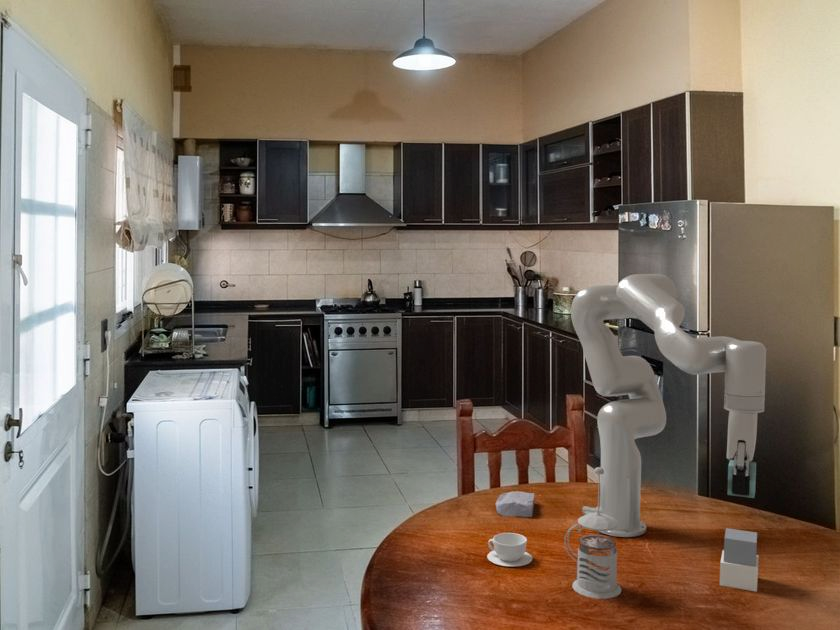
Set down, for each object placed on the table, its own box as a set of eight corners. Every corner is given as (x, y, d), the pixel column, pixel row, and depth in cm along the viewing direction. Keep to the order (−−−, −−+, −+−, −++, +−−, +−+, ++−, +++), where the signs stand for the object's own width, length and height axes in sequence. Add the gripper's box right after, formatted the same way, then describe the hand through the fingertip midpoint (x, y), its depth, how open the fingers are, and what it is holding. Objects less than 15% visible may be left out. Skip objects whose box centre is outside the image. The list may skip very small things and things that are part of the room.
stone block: (496, 523, 199) (535, 518, 197) (493, 505, 199) (531, 499, 197) (500, 509, 210) (537, 504, 209) (497, 492, 210) (533, 487, 208)
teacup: (537, 554, 175) (538, 534, 174) (525, 571, 166) (525, 550, 165) (495, 547, 179) (495, 527, 178) (480, 564, 170) (480, 543, 169)
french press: (612, 603, 151) (615, 477, 148) (556, 589, 157) (558, 468, 154) (628, 584, 159) (630, 464, 157) (573, 571, 165) (576, 456, 163)
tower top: (723, 561, 158) (724, 538, 158) (725, 551, 164) (726, 528, 163) (755, 566, 156) (756, 542, 155) (756, 555, 161) (757, 532, 161)
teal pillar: (727, 494, 157) (728, 465, 157) (729, 487, 162) (729, 459, 161) (754, 498, 155) (755, 468, 154) (755, 491, 160) (756, 462, 159)
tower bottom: (719, 586, 159) (720, 562, 158) (721, 572, 165) (722, 549, 164) (756, 592, 156) (757, 568, 155) (757, 578, 162) (758, 555, 161)
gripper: (727, 393, 166) (724, 477, 168) (720, 408, 151) (718, 500, 152) (765, 396, 163) (762, 481, 164) (763, 412, 147) (760, 505, 149)
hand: (741, 489), depth 158 cm, fingers closed on teal pillar, 4 cm apart
